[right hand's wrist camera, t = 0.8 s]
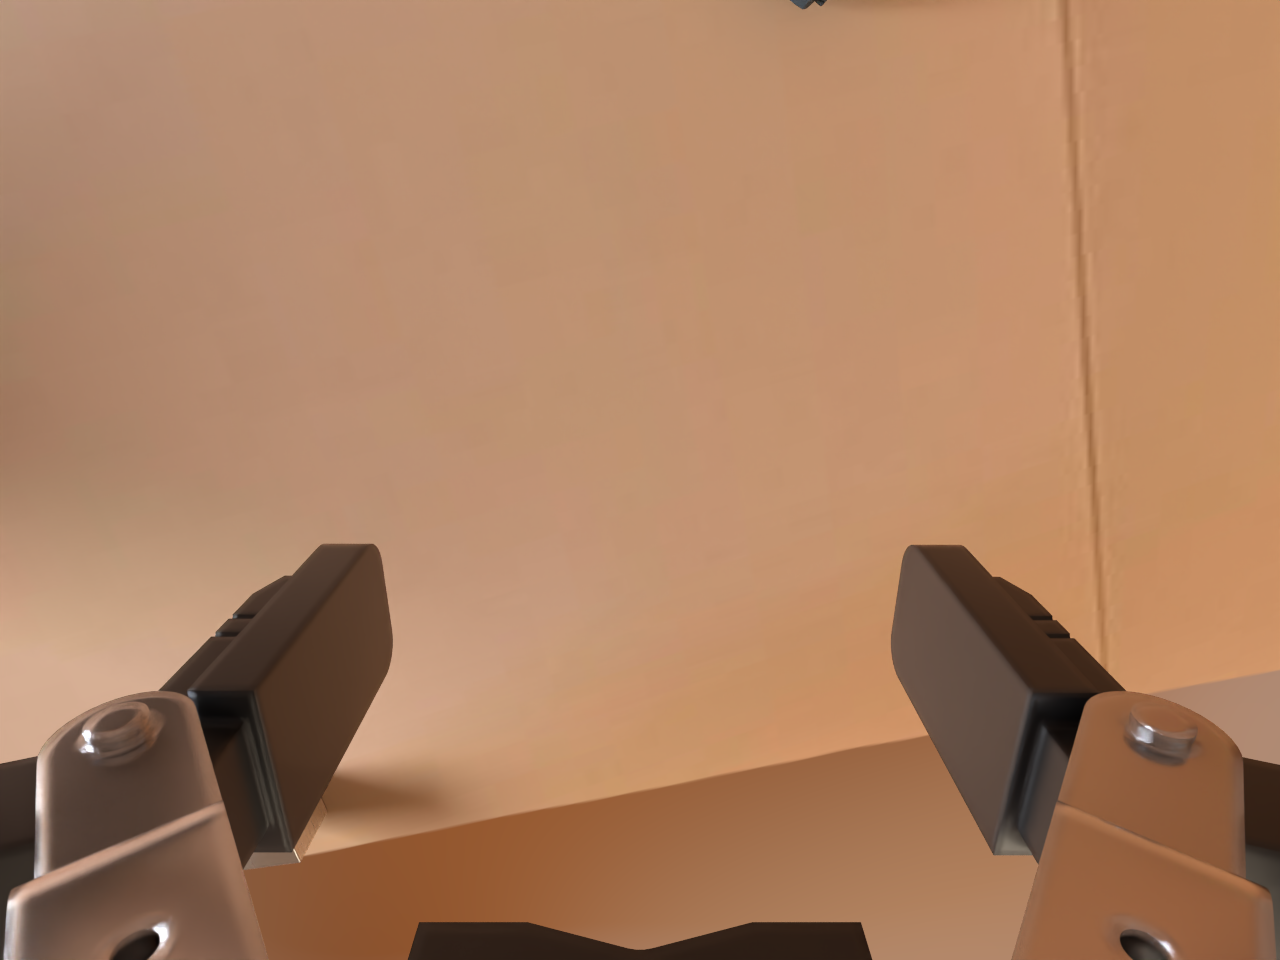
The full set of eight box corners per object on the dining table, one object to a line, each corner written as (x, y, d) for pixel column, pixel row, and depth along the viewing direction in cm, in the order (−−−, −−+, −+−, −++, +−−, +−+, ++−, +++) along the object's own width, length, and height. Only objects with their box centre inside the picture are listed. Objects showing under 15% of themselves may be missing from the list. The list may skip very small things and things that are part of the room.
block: (327, 811, 55) (300, 862, 51) (274, 819, 56) (243, 870, 51) (309, 770, 54) (280, 819, 50) (255, 778, 54) (221, 828, 50)
